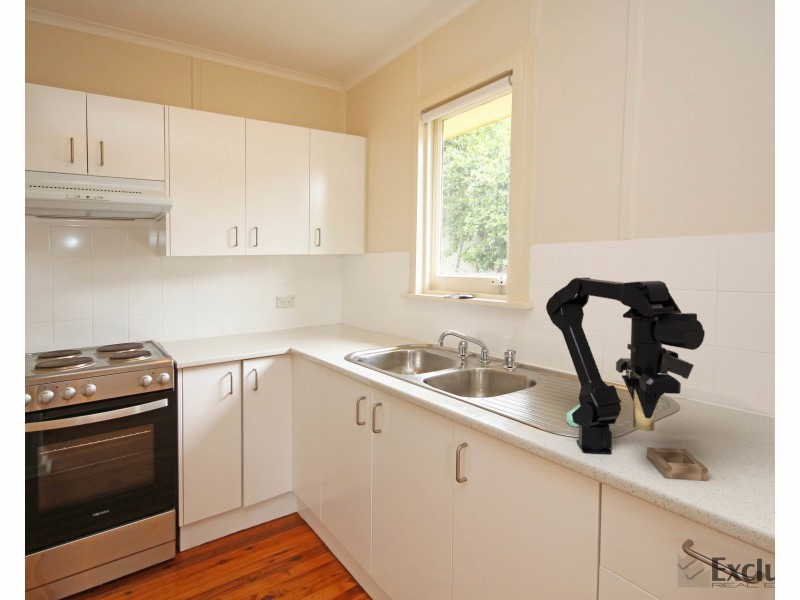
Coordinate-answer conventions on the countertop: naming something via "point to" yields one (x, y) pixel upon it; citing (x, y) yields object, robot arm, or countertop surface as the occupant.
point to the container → (569, 417)
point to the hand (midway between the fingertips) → (643, 414)
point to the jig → (677, 464)
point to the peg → (641, 417)
